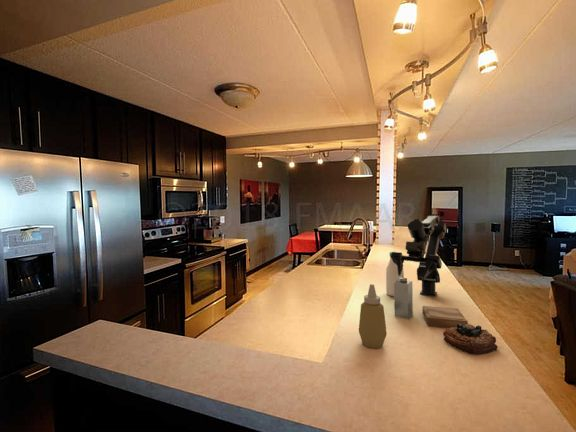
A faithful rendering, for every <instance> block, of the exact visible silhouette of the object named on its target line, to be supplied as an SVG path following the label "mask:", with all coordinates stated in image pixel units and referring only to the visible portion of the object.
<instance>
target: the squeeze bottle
mask: <svg viewBox="0 0 576 432" xmlns="http://www.w3.org/2000/svg"><path fill="white" fill-rule="evenodd" d="M363 296H364V297H363V302H362V303H361V304H360V313H359V324H358V333H359V336H360V340H361V342H362V345H364V346H366V347H367V348H370V349H379V348H382V347H383V345H384V343H385V341H386V336H387V327H386V316H385V315H386V314H385V307H384V305H383V304H382V303H381V296H379V295H377V292H376V288H375V284H369V286H368V292H367V294H365V295H363Z"/></svg>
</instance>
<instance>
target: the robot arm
mask: <svg viewBox="0 0 576 432" xmlns="http://www.w3.org/2000/svg"><path fill="white" fill-rule="evenodd" d="M407 228H408V232H409V234H410V237H411V238H412V241H406V242H405V250H406V253H407V255H403V253H402V251H391V252H392V253H391V258H392V260H393V262H394V263H395V264H396V265H397V267H398V275H399V276H400V275H401V272H402V269H403V270H404V264H403V263H405V261H407V262H413V263H418V267H417V268H416V276H417V277H416V278H417V281H421V290H420V293H419V294H420V295H422V296H423V295H424V296H431V297H437V294H438V292H437V291H436V284H439V283H441V277H440V273H439V270H440V269H442V266H443V263H442V260H441V256H440V255H438V249H439V246H440V245H439V243H440V240H442V239H444V237H445V234H446V233H447V225H446V222H445V221H443V220H442V219H440V216H438V215H428V216H427V217H426V218H425V219H424V220H422V221H421V219H420V218H414V219H413V220H412V221H410V222H409V223H408V224H407ZM438 269H439V270H438Z"/></svg>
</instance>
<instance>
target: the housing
mask: <svg viewBox="0 0 576 432" xmlns="http://www.w3.org/2000/svg"><path fill="white" fill-rule="evenodd" d="M393 298H394V301H393V302H394V303H393V304H394V314H393V315H394V317H397V318H400V319H405V320H409V319H410V318H412V317H413V315H414V314H413V313H414V312H413V308H414V307H413V305H414V304H413V299H414V298H413V281H412V280H408V278H406V277H404V278H400V279H399V280H397V281H395V282H394V296H393Z"/></svg>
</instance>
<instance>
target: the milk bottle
mask: <svg viewBox="0 0 576 432" xmlns="http://www.w3.org/2000/svg"><path fill="white" fill-rule="evenodd" d="M392 252H393V251H389V260H388V261H389V262H388V264H387V266H386V269H385V270H386V272H385V274H386V275H385V276H386V277H385V287H386V290H385V291H386V295H388V296H390V297H394V282H395V281H397V280H399V279H400V278H405V274H404V273H405V271H404V268H403V269H402V272H401V275H400V276H399V275H398V267H397V265H396V264H395V263H394V262H393V260H392V258H391V253H392Z"/></svg>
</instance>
